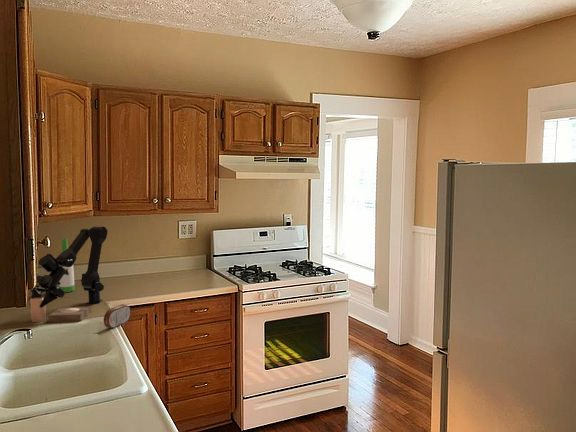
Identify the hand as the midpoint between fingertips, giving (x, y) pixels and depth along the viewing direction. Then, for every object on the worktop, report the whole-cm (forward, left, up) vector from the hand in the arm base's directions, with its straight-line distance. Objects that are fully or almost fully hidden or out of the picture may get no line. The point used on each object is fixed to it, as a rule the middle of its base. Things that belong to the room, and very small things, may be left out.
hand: (35, 306), depth 227 cm
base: (-4, +14, -7) cm, 16 cm away
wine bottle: (-58, -8, -7) cm, 59 cm away
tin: (+11, +40, -7) cm, 42 cm away
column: (-1, +1, -7) cm, 7 cm away
